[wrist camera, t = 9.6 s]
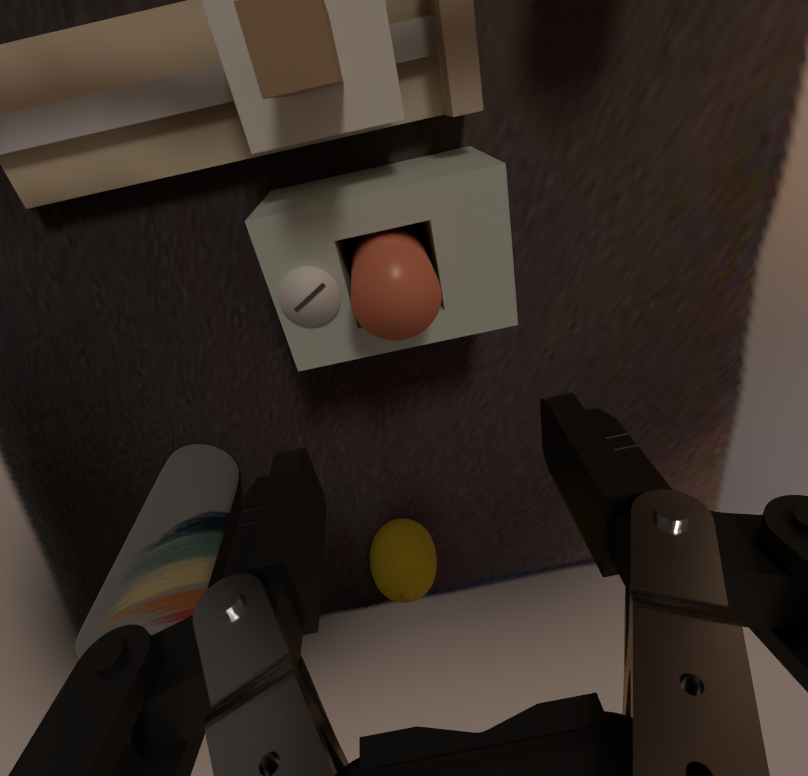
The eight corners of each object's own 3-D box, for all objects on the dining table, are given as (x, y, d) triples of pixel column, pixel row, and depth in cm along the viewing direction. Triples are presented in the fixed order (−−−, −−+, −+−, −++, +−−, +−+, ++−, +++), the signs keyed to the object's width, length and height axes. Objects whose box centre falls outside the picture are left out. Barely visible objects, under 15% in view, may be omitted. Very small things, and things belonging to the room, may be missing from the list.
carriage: (220, 0, 22) (122, -65, 13) (372, -35, 22) (384, -128, 13) (265, 145, 25) (212, 177, 16) (398, 115, 25) (423, 130, 16)
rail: (-39, 60, 25) (-112, 55, 21) (447, -55, 24) (465, -82, 20) (41, 203, 28) (-8, 221, 25) (465, 107, 28) (483, 110, 24)
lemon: (439, 529, 45) (453, 607, 38) (384, 550, 46) (389, 630, 39) (415, 490, 42) (426, 567, 36) (357, 512, 43) (358, 592, 36)
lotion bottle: (184, 502, 41) (63, 797, 24) (153, 450, 38) (-12, 744, 21) (251, 488, 41) (176, 775, 24) (224, 435, 38) (117, 719, 21)
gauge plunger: (343, 230, 26) (340, 265, 21) (418, 214, 26) (433, 244, 20) (361, 301, 28) (362, 348, 23) (430, 286, 28) (447, 330, 23)
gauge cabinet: (270, 190, 29) (242, 223, 22) (470, 146, 29) (508, 164, 22) (310, 313, 33) (297, 375, 26) (484, 276, 33) (520, 327, 26)
